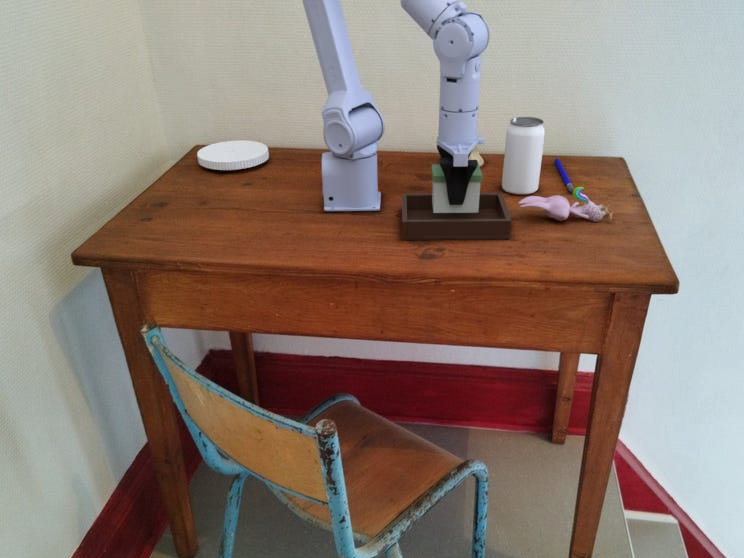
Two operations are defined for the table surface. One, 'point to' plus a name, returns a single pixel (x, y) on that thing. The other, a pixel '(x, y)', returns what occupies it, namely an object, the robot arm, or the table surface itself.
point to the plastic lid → (233, 155)
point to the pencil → (564, 175)
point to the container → (441, 196)
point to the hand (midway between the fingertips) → (454, 197)
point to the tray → (455, 220)
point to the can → (523, 155)
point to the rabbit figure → (567, 206)
